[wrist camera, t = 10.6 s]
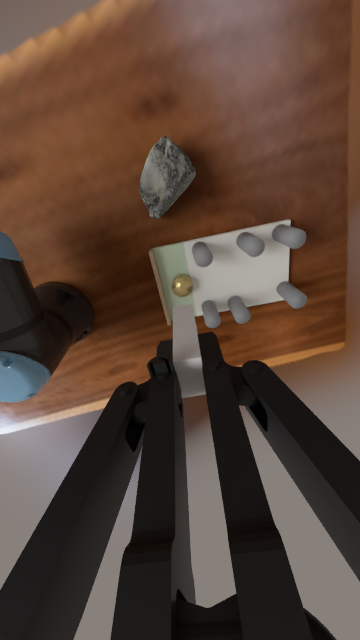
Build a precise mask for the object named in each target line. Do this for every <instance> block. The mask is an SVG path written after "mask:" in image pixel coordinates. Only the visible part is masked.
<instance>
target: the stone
mask: <svg viewBox="0 0 360 640" xmlns="http://www.w3.org/2000/svg"><path fill="white" fill-rule="evenodd" d="M195 175H196V171H195V167H194V166H193V164H192V163H191V161H190V159H189V157H188V156H187V154H186V153H185V152H184V151H183V150H182V149H181V148H180V147H179V146H178V145H176V144H175V143H173V142H172V141H171V140H170V139H168V138H167V137H166V136H163V138H161V139H160V141H159V142H157V143H156V144H155V145H154V146H153V148H152V149H151V151H150V153H149V156H148V158H147V160H146V163H145V165H144V169H143V171H142V176H141V181H140V195H141V197H142V201H143V203H144V204H145V205H146V206H147V209H148V211H149V212H150V217H153V218H155V219H160V217H161V216H162V215H163V214H164V213H165V212H166V211H167V210H168V209H169V208H170V206H171V205H173V204H174V202H175V201H176V200H177V199H178V198H179V196H180V195H181V194H182V193H183V192H184V191H185V190H186V189H187V188H188V186H189V185H190V183H191V182H192V181H193V179H194V177H195Z"/></svg>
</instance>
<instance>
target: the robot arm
mask: <svg viewBox="0 0 360 640" xmlns="http://www.w3.org/2000/svg"><path fill="white" fill-rule="evenodd" d="M23 262H24V261H23V259H22V258H21V257H20V256H19V254H18V252H17V249H16V247H15V245H14V243H13V241H12V239H11V238H10V237H9V236H8V235H7V234H5V233H3V232H1V231H0V402H19V401H23V400H27V399H29V398H31V397H33V396H34V395H36V394H37V393H38V392H39V391H40V390H41V388H42V387H43V386H44V384H45V383H47V382H48V381H49V379H50V377H51V376H52V374H53V372H54V371H55V369H56V368H57V366H58V365H59V363H60V361H61V360H62V358H63V357H64V355H65V354H66V352H67V351H68V349H69V347H71V346H72V345H74V344H76V343H77V342H79V341H81V340H82V339H83V338H85V337H86V336H87V334H88V333H89V332H90V330H91V328H92V326H93V324H94V311H93V308H92V306H91V304H90V302H89V301H88V299H87V298H86V297H85V296H84V295H83V294H82V293H81V292H80V291H78V290H77V289H75V288H73V287H71V286H69V285H67V284H63V283H59V282H47V283H43V284H40V285H38V286H37V287H35V288H33V285H32V283H31V281H30V278H29V276H28V274H27V271H26V269H25V267H24V264H23ZM156 356H157V357H155V358H153V359H151V360H150V361H149V362H148V364H147V368H148V370H149V373H150V376H151V379H149V380H148V381H147V382H145V383H142V384H140V385H138V386H137V384H136V383H134V382H126V383H123V384H121V385H120V386H118V387H117V388H116V390H115V391H114V393H113V395H112V396H111V398H110V400H109V401H108V403H107V405H106V407H105V408H104V410H103V412H102V414H101V415H100V417H99V419H98V421H97V423H96V424H95V426H94V428H93V429H92V431H91V433H90V435H89V436H88V438H87V440H86V442H85V444H84V445H83V447H82V449H81V450H80V452H79V454H78V456H77V457H76V459H75V461H74V463H73V464H72V466H71V468H70V469H69V471H68V473H67V475H66V477H65V478H64V480H63V482H62V483H61V485H60V487H59V489H58V490H57V492H56V494H55V496H54V498H53V499H52V501H51V503H50V504H49V506H48V508H47V510H46V512H45V513H44V515H43V517H42V518H41V520H40V522H39V524H38V525H37V527H36V529H35V531H34V532H33V534H32V536H31V538H30V539H29V541H28V543H27V545H26V546H25V548H24V550H23V551H22V553H21V555H20V557H19V558H18V560H17V562H16V564H15V565H14V567H13V569H12V571H11V572H10V574H9V576H8V578H7V579H6V581H5V583H4V585H3V587H2V588H1V590H0V640H73V639H74V636H75V633H76V631H77V628H78V626H79V623H80V620H81V618H82V615H83V612H84V610H85V607H86V603H87V601H88V598H89V595H90V593H91V590H92V586H93V584H94V581H95V578H96V576H97V573H98V569H99V567H100V564H101V561H102V558H103V556H104V553H105V550H106V547H107V544H108V541H109V539H110V536H111V533H112V530H113V527H114V524H115V522H116V518H117V516H118V513H119V510H120V507H121V504H122V502H123V499H124V496H125V493H126V490H127V487H128V485H129V482H130V479H131V476H132V473H133V471H134V468H135V465H136V462H137V459H138V456H139V454H140V451H141V448H142V445H143V448H142V455H141V463H140V473H139V481H138V488H137V497H136V505H135V513H134V522H133V530H132V537H131V540H130V543H129V544H128V545H127V547H126V548H125V551H124V554H123V557H122V563H121V569H120V575H119V583H118V590H117V597H116V605H115V611H114V618H113V626H112V632H111V640H336V639H335V637H334V636H333V635H332V634H331V633H330V632H329V630H328V629H327V628H326V627H325V626H324V625H323V624H322V623H321V622H320V621H319V620H318V619H317V618H316V617H314V616H313V615H312V614H311V613H310V612H308V611H307V610H306V609H304V608H303V605H302V602H301V599H300V596H299V593H298V589H297V586H296V583H295V580H294V576H293V573H292V570H291V567H290V564H289V561H288V557H287V554H286V551H285V547H284V544H283V542H282V539H281V536H280V534H279V531H278V529H277V528H276V526H275V523H274V521H273V518H272V514H271V511H270V508H269V505H268V501H267V498H266V494H265V491H264V488H263V484H262V481H261V478H260V475H259V471H258V468H257V465H256V462H255V458H254V455H253V452H252V448H251V445H250V441H249V438H248V435H247V431H246V428H245V425H244V422H243V418H242V415H241V412H240V408H239V405H242V406H245V407H246V409H247V411H248V412H249V414H250V415H251V416H252V418H253V420H254V421H255V423H256V424H257V426H258V427H259V429H260V430H261V432H262V434H263V435H264V437H265V438H266V440H267V441H268V443H269V444H270V446H271V447H272V449H273V450H274V452H275V453H276V455H277V456H278V458H279V459H280V461H281V462H282V464H283V465H284V467H285V468H286V470H287V472H288V473H289V475H290V476H291V478H292V479H293V480H294V482H295V484H296V485H297V487H298V488H299V490H300V491H301V493H302V494H303V496H304V497H305V499H306V500H307V502H308V503H309V505H310V506H311V508H312V510H313V511H314V512H315V514H316V515H317V517H318V518H319V520H320V522H321V523H322V525H323V526H324V527H325V529H326V531H327V532H328V534H329V535H330V537H331V538H332V540H333V541H334V543H335V544H336V546H337V548H338V549H339V550H340V552H341V554H342V555H343V557H344V558H345V560H346V561H347V563H348V564H349V566H350V567H351V569H352V570H353V572H354V573H355V575H356V576H357V578H358V580H359V581H360V461H359V460H358V459H357V458H356V457H355V456H354V455H353V454H352V453H351V451H349V449H348V448H347V447H345V445H344V444H343V443H342V442H341V441H340V440H339V439H338V438H337V437H336V436H335V435H334V434H333V433H332V432H331V431H330V430H329V429H328V428H327V427H326V426H325V425H324V424H323V423H322V422H321V421H320V419H318V417H317V416H316V415H314V414H313V412H312V411H311V410H310V409H309V408H308V407H307V406H306V405H305V404H304V403H303V402H302V401H301V400H300V399H299V398H298V397H297V396H296V395H295V394H294V393H293V392H292V391H291V390H290V389H289V388H288V386H287V385H286V384H285V383H284V382H283V381H281V379H280V378H279V377H278V376H277V375H276V374H275V373H274V372H273V371H272V370H271V369H270V368H269V367H268V366H267V365H266V364H265V363H263V362H261V361H257V360H252V361H248V362H246V363H244V364H243V365H242V367H235V366H231V365H229V364H227V363H226V362H225V361H224V359H223V356H222V353H221V349H220V346H219V343H218V339H217V336H216V335H215V334H214V333H213V332H207V333H202V334H198V332H197V327H196V322H195V317H194V311H193V306H192V304H187V305H182V306H177V307H173V339H171V340H166V341H161V342H160V343H159V345H158V346H157V355H156ZM181 394H182V397H183V398H184V397H191V396H197V395H203V394H206V397H207V404H208V410H209V416H210V423H211V429H212V436H213V442H214V447H215V455H216V461H217V467H218V473H219V480H220V487H221V492H222V499H223V505H224V512H225V518H226V525H227V532H228V541H229V548H230V555H231V561H232V568H233V574H234V580H235V587H236V593H237V594H235V595H233V596H231V597H229V598H227V599H226V600H224V601H222V602H220V603H218V604H216V605H215V606H213V607H210V608H204V607H202V606H199V605H196V600H195V588H194V579H193V573H192V567H191V552H190V531H189V511H188V491H187V470H186V450H185V429H184V410H183V403H182V397H181Z"/></svg>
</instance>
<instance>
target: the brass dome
mask: <svg viewBox="0 0 360 640" xmlns="http://www.w3.org/2000/svg"><path fill="white" fill-rule="evenodd" d="M192 289H193V285H192V280H191V278H190V277H189V276H188V275H185V274H179V275H177V276H175V277H174V279H173V281H172V291H173V293H174V294H175V295H176V296H178V297H186V296H188V295H189V294H190V293H191V292H192Z"/></svg>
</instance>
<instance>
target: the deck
mask: <svg viewBox="0 0 360 640" xmlns="http://www.w3.org/2000/svg"><path fill="white" fill-rule="evenodd" d="M305 241H306V233H305V231H303V230H301V229H298V228H294V227H291V220H289V219H287V220H282V221H277V222H273V223H268V224H263V225H259V226H254V227H249V228H244V229H240V230H235V231H230V232H226V233H221V234H216V235H211V236H207V237H202V238H197V239H193V240H188V241H183V242H179V243H174V244H169V245H164V246H160V247H155V248H150V249H149V256H150V260H151V264H152V268H153V271H154V275H155V279H156V283H157V287H158V290H159V294H160V298H161V302H162V306H163V309H164V313H165V317H166V321H167V325H171V321H173V307H177V306H182V305H187V304H192V306H193V311H194V317H195V316H201V315H204V319H205V324H206V325H207V326H208V327H209V328H216V327H218V326H219V325H220V323H221V318H220V316H219V313H218V312H223V311H228V310H231V312H232V314H233V316H234V318H235V320H236V322H237V323H240V324H243V323H246V322H248V321H249V320H250V317H251V314H250V312H249V310H248V309H247V307H249V306H255V305H260V304H265V303H271V302H276V301H282V300H285V301H286V302H288V303H289V304H290V305H291V306H292V307H293V308H296V309H297V308H301V307H303V306H304V305H305V304H306V302H307V296H306V295H305V294H303V293H302V292H301V291H300V290H298V289H297V288H296V287H294V286H293V285H292V284H291V283H289V282H288V280H289V253H290V248H292V249H297V248H300V247H301V246H302V245H303V244H304V243H305ZM179 274H185V275H188V276H189V277H190V278H191V280H192V285H193V289H192V292H191V293H190V294H189V295H188V296H186V297H178V296H176V295H175V294H174V293H173V291H172V281H173V279H174V277H175V276H177V275H179Z"/></svg>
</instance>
